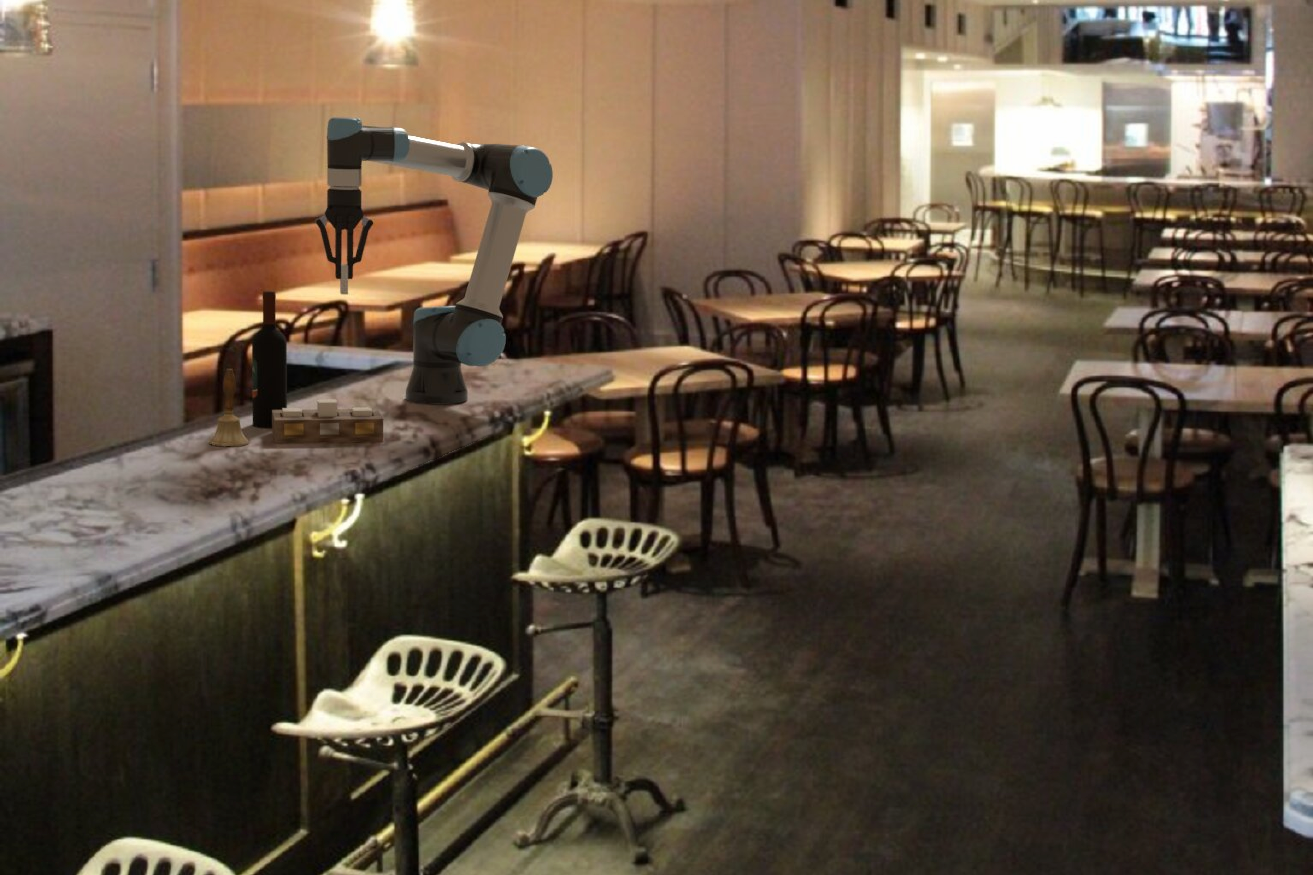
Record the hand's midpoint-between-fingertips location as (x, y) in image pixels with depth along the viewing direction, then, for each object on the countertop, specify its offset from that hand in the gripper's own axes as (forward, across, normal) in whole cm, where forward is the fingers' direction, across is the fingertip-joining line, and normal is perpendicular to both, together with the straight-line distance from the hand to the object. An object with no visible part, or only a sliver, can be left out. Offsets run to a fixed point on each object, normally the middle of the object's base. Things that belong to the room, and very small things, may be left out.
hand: (344, 293), depth 406 cm
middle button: (+26, +5, +17) cm, 32 cm away
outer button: (+28, +13, +17) cm, 35 cm away
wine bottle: (+30, +17, +2) cm, 34 cm away
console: (+29, +5, +17) cm, 34 cm away
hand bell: (+30, +26, +22) cm, 45 cm away
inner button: (+28, -3, +17) cm, 33 cm away
